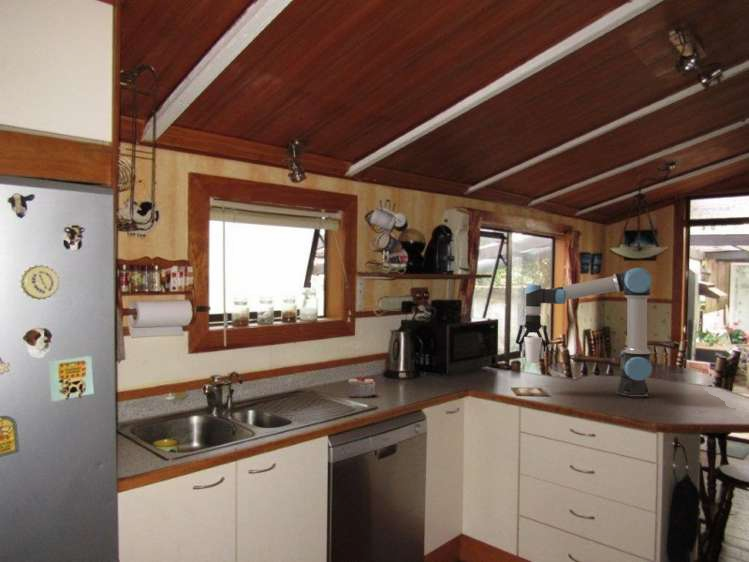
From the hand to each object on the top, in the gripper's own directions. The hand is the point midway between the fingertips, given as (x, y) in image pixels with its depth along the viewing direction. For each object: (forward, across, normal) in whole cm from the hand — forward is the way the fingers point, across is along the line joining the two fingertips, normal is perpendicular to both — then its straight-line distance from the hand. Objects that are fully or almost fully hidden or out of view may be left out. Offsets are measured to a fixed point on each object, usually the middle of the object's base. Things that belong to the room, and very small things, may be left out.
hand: (532, 357), depth 278 cm
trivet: (+18, +1, -1) cm, 18 cm away
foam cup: (+2, 0, 0) cm, 2 cm away
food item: (+20, +87, +14) cm, 90 cm away
